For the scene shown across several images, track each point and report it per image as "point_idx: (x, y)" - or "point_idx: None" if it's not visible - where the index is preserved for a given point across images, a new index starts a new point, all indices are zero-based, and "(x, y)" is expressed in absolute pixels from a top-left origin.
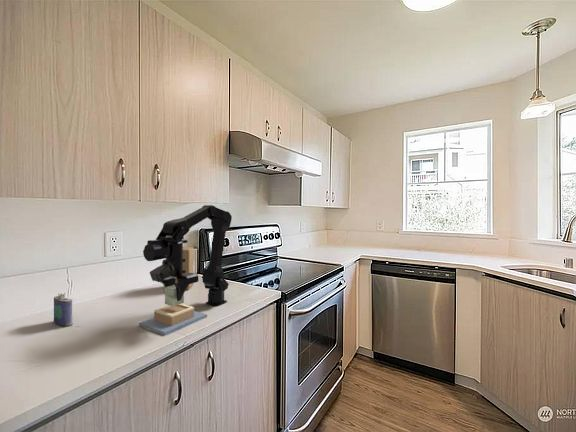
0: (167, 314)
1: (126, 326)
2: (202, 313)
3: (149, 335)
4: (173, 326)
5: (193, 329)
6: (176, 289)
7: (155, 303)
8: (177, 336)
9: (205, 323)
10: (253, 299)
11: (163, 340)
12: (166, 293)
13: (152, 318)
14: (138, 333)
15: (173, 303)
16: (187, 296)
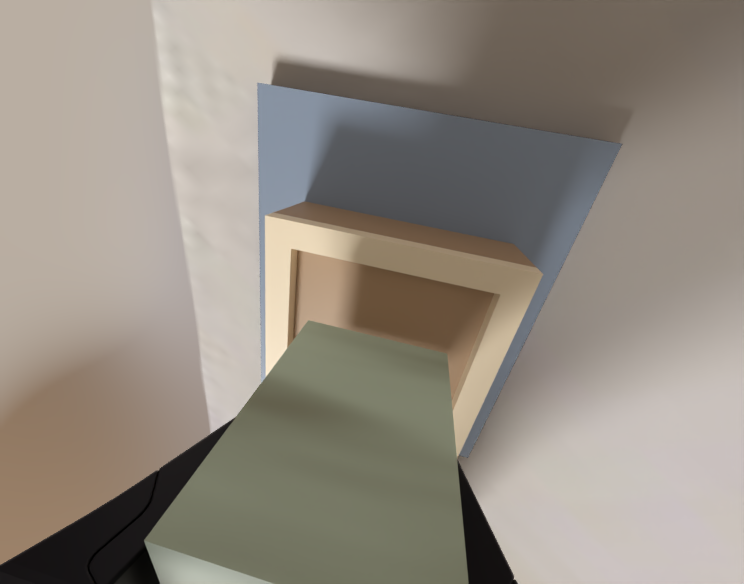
0: (326, 227)
1: (740, 77)
2: None
3: (376, 26)
4: (290, 201)
5: (202, 243)
6: (130, 547)
7: (724, 498)
8: (194, 118)
9: (214, 326)
10: None
11: (214, 9)
12: (411, 469)
13: (551, 264)
14: (499, 5)
15: (295, 340)
16: (558, 577)
